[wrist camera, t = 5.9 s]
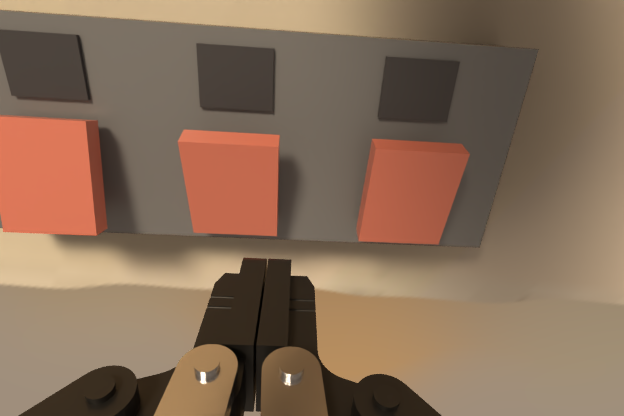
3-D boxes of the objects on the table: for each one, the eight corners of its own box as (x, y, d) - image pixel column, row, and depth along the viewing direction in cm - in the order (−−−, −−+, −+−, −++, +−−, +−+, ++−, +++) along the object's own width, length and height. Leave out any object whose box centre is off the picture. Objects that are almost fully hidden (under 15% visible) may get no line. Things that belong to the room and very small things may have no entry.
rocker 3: (461, 143, 17) (469, 154, 16) (432, 231, 19) (438, 244, 19) (372, 138, 16) (375, 148, 16) (356, 228, 19) (358, 241, 18)
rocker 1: (97, 120, 16) (85, 121, 16) (107, 228, 18) (96, 235, 17) (2, 114, 16) (-16, 115, 15) (19, 224, 18) (3, 231, 17)
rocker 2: (279, 134, 16) (278, 147, 15) (277, 222, 19) (276, 236, 18) (183, 129, 16) (177, 141, 15) (198, 219, 19) (193, 232, 18)
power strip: (499, 46, 19) (541, 49, 16) (455, 218, 24) (480, 249, 20) (-109, 1, 18) (-204, -5, 14) (-39, 196, 22) (-99, 225, 19)
